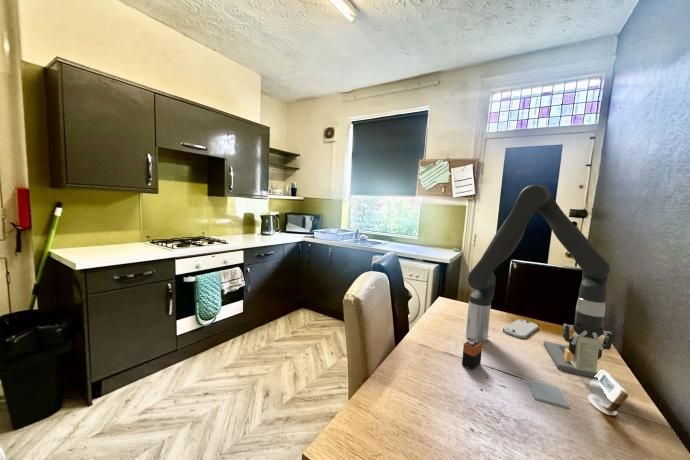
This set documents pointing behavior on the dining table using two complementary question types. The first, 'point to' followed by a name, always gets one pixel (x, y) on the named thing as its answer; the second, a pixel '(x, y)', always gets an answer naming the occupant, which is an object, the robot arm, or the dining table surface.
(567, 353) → the slider tab
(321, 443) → the dining table surface
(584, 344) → the skincare box
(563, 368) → the switch panel
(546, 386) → the mat
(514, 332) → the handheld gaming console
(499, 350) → the dining table surface
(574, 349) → the robot arm
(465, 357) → the battery
